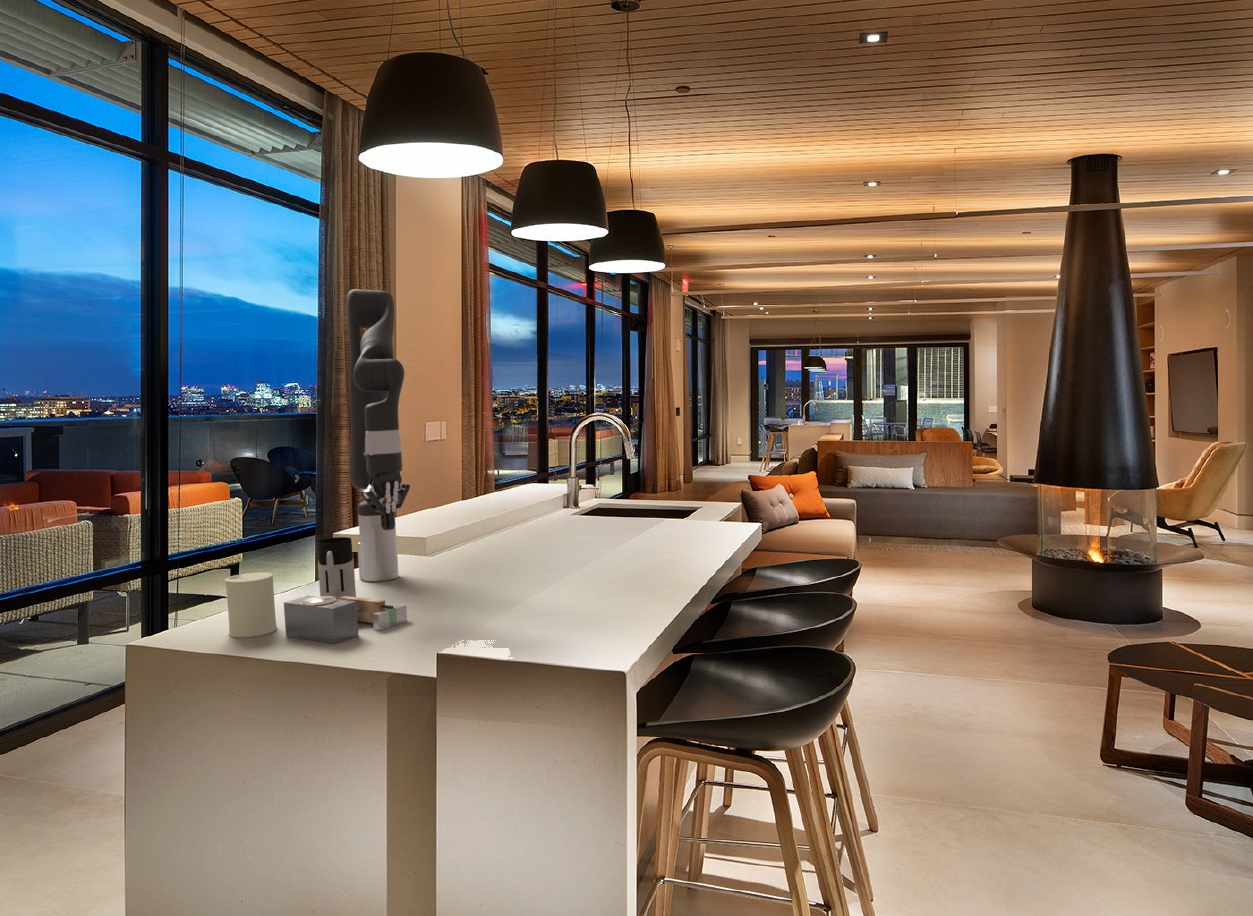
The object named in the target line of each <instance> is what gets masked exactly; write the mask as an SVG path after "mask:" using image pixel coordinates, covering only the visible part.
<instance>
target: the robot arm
mask: <svg viewBox="0 0 1253 916" xmlns="http://www.w3.org/2000/svg"><path fill="white" fill-rule="evenodd" d="M346 319H347V333H348V334H347V335H348V347H349V371H348V372H349V380H348V381H349V383H348V389H349V395H348V396H349V397H348V398H349V412H350V416H349V417H350V419H349V420H350V442H349V460H348V461H349V463H348V465H349V467H348V472H349V473H348V475H349V481H350V484H351V486H352V488H355V489H359V490H360V489H363V490H361V491H360V495H361V497H362V498H363V499H364V500H363V501H362V502H360V503H359V504H358V506H357V517H358V531H359V532H358V533H359V542H357V544H356V545H357V556H358V557H357V558H358V559H357V560H358V573H359V574H358V575H359V579H361V580H362V581H365V582H384V581H390V580H393V579H397V578H399V576H400V575H399V559H398V545H397V544H398V543H397V541H398V540H397V529H396V515H395V514H396V513H395V512H396V511H397V509H401V507H402V506H403V503H404V501H405V499H406V497H407V495H408V493H409V491H410V489H411V485H410V484H409V483H405V482H404V481H403V480H402V479H403V477H402V476H401V472H402V471H403V457H402V453H403V452H402V440H401V434H400V425H399V424H400V423H399V402H400V396H401V391H402V388H403V383H404V379H405V369H404V366H403V363H401V362H400V361H399V360H398V359H396V358H394V349H393V335H394V328H395V327H394V326H395V302H394V298H393V295H392V293H391V292H389V291H386V290H381V289H380V290H379V289H351V290H349V291H348V293H347V296H346ZM362 329H367V330H366V331H365V332H364V333H362ZM364 489H365V490H364Z"/></svg>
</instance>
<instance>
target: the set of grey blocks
mask: <svg viewBox="0 0 1253 916" xmlns="http://www.w3.org/2000/svg"><path fill="white" fill-rule="evenodd" d="M393 608H394V609H386V608H385V609H384V610H383V611H380V612H377V613H374V614H373V623H372V624H373V630H374V631H382V630H384V629H387V628H390V627H393V626H396V625H398V624H400V623H404V622H407V621H408V615H407V614H408V611H407V604H397V605H395V606H393ZM283 612H284V613H283V615H284V624H285V625H284V626H285V627H284V628H285V636H286V638H287V637H289V638H295V639H302V640H307V641H313V642H320V643H325V644H332V645H336V644H338V643H342V642H345V641H347V640H351V639H353V638H356V637H358V636H359V625H358V624H359V623H358V622H359V621H357V606H356V601H348V600H340V599H336V597H333V596H320V595H319V596H314V595H305V596H302V597H297V598H295V599H292V600H287V601H284V602H283Z"/></svg>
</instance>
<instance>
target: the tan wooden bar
mask: <svg viewBox="0 0 1253 916" xmlns="http://www.w3.org/2000/svg"><path fill="white" fill-rule="evenodd" d="M338 599H340V600H348V601H356V606H357V621H358V622H363V623H371V624H373V614H374V613H377V612H380V611H383V610H384V609H394V608H393V607H394V605H392V604H386V601H385V600H382V599H374V598H365V597H358V596H356V597H350V596H342V597H338Z"/></svg>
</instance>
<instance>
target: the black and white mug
mask: <svg viewBox="0 0 1253 916" xmlns="http://www.w3.org/2000/svg"><path fill="white" fill-rule="evenodd" d="M316 542H317V557H318V560H317V565H318V567H317V568H318V584H319V594H320V595H319V597H320V596H333V597H336V599H338V597H342V596H350V597H357V591H356V576H355V561H354V560H355V559H354V556H353V544H352V538H351V537H348V536H347V537H345V536H342V537H341V536H340V537H337V536H336V537H328V538H322V539H319V540H317V541H316Z"/></svg>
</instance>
